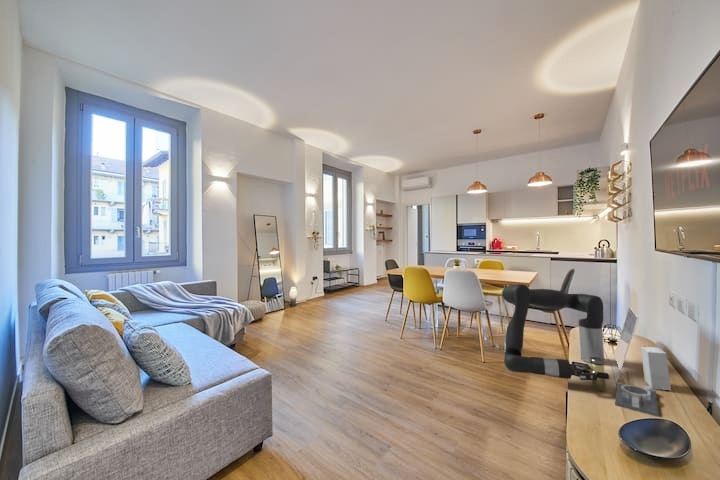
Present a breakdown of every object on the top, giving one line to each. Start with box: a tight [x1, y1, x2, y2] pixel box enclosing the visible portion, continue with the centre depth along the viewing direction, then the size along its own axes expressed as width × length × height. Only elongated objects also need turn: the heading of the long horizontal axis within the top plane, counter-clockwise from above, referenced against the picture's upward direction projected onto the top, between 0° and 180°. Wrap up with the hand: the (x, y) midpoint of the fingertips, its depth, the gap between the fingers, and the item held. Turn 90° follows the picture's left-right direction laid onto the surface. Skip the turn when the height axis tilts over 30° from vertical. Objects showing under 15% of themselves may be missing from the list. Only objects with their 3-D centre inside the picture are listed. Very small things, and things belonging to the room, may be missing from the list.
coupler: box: [589, 357, 607, 392], centre depth 117 cm, size 5×5×12 cm
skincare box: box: [640, 346, 672, 392], centre depth 118 cm, size 8×6×15 cm
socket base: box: [614, 382, 659, 417], centre depth 108 cm, size 20×11×4 cm, turn 136°
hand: (606, 373), depth 115 cm, fingers closed on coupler, 4 cm apart
